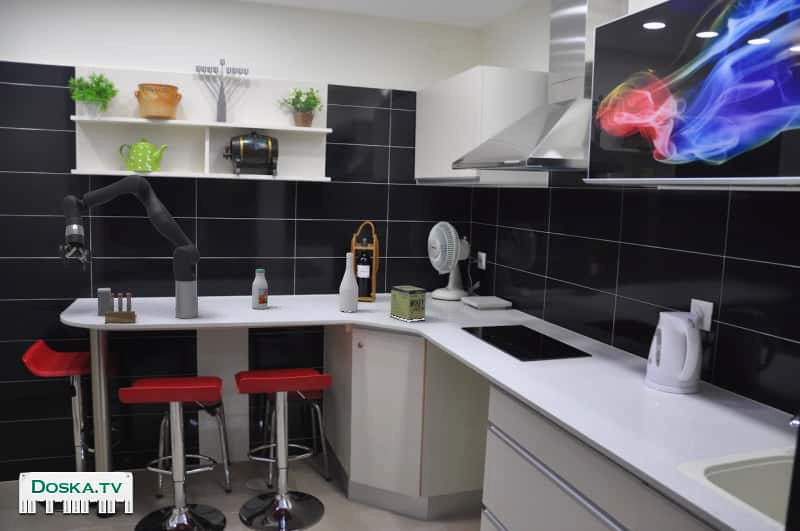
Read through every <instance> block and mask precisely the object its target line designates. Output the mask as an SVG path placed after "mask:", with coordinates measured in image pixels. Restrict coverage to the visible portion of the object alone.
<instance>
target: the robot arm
mask: <svg viewBox="0 0 800 531" xmlns="http://www.w3.org/2000/svg"><path fill="white" fill-rule="evenodd" d="M126 194H132V195H133V196H135V197H136V198H137V199H138V200H139V201H140V202H141V203H142V204H143V206H144V207H145V209H146V210H145V211H146V214H147V216H148V219H149V221H150V223H151V224H152V225H153V227H154V228H155V229H156V231H157V232H158V233H159V234H160V235H161V236H163V237H164V238H166V239H167V240H169V241H170V242H172V243H173V244H174V245H175V247H176V248H175V249H174V251H173V254H172V264H173V265H172V267H173V269H172V270H173V275H174V277H175V318H178V319H194V318H196V317H199V296H198V295H197V274H196V273H194V272H193V271H192V269H191V266H193V265H197V264H198V263H199V262H200V259H201V255H200V251H199V250H198V248H197V247H196V246H195V244H194V243H193V242H192V241H191V239H190V238H189V237H188V236H187V235H186V234H185V233H184V231H183V230H182V228H181V227H180V225H179V224H178V223H177V221H176V220H175V219H174V217H173V215H172V214H171V213H170V212H169V210H168V209H167V208H166V206H165V205H164V204H163V203H162V202H161V200H160V199H159V198H158V197H157V195H156V193H155V192H154V189H153V188H152V186H151V184H150V182H149V181H148V180H147V179H146V178H145V177H142V176H141V175H138V174H130V175H128V176H126V177H124V178H122V179H120V180H118V181H116V182H113V183H112V184H110V185H106V186H104V187H101V188H98V189H95V190H91V191H89V192H87V193H85V194H83V195H82V199H79V198H77V197H76V196H74V195H72V194H70V195H67V196H65V197H64V198H63V200H62V204H61V205H62V207H61V208H62V211H63V214H64V217H65V228H66V229H65V244H64V243H63V244H61V245H60V246H59V248H58V251H59V252H58V258H59V259H62V260H63V266H64V267H65V268H69V266H70V259H69V257H71V258H73V257H74V258H77V259H79V260H80V261H81V262H82V271H84V272H85V271H87V270H88V269H89V266H88V265H89V263H91V262H92V261H93V258H92V250H91V249H85V233H84V232H85V231H84V224H83V223H84V222H83V217H82V216H81V214H82V215H83V214H84V213H86V212H88V211H89V210H90V209H92V208H94V207H98V206H100V205H104V204H106V203H108V202H110V201H111V200H113V199H114V198H116V197H117V196H120V195H126ZM65 251H66V252H67V253H65Z"/></svg>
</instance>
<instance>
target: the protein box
mask: <svg viewBox="0 0 800 531" xmlns="http://www.w3.org/2000/svg"><path fill="white" fill-rule="evenodd" d="M390 292H391V294H390V296H391V297H390V313H389V314H390V315H393V316H396V317H399V318H403V319H407V320H413V319H422V318H425V319H426V306H427V305H426V304H427V303H426V302H427V301H426V300H427V289H426V288H421V287H416V286H413V285H394V286H392V285H391V291H390Z"/></svg>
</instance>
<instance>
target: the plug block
mask: <svg viewBox="0 0 800 531" xmlns="http://www.w3.org/2000/svg"><path fill="white" fill-rule="evenodd" d="M110 293H111V287H103V288H101V287H100V288H97V317H105V312H110V306H109V294H110Z"/></svg>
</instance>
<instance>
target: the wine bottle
mask: <svg viewBox="0 0 800 531" xmlns="http://www.w3.org/2000/svg"><path fill="white" fill-rule="evenodd" d="M345 265H346V267H345V271H344V275H343V278H342V280H341V283H340V286H339V294H338V295H339V300H338V303H339V304H338V305H339V306H338V310H339V312H341V311H345V312H344V313H346V312H349V311H356V310H357V311H358V310H359V285H358V282H357V279H356V276H355V272H354V253H353V252H347V253H346V264H345ZM357 311H356V312H357Z"/></svg>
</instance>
